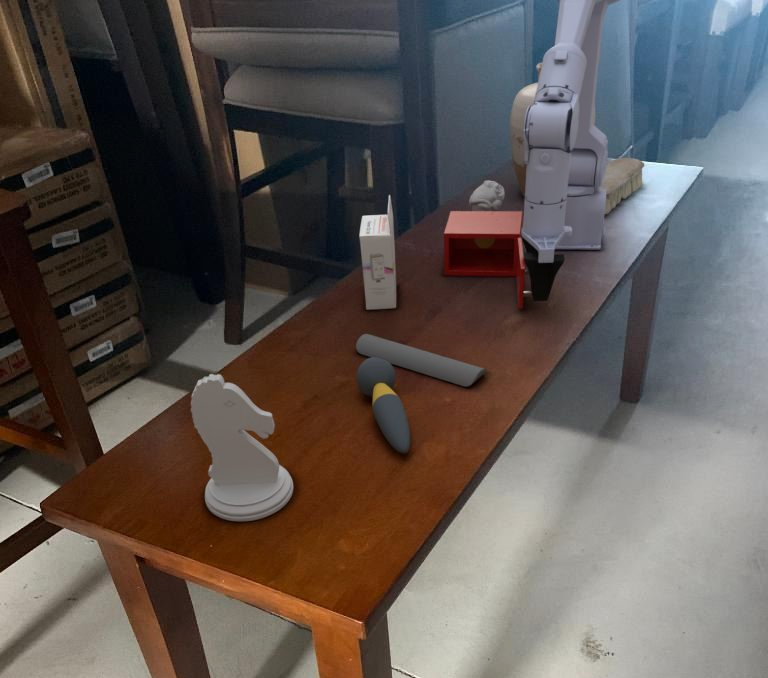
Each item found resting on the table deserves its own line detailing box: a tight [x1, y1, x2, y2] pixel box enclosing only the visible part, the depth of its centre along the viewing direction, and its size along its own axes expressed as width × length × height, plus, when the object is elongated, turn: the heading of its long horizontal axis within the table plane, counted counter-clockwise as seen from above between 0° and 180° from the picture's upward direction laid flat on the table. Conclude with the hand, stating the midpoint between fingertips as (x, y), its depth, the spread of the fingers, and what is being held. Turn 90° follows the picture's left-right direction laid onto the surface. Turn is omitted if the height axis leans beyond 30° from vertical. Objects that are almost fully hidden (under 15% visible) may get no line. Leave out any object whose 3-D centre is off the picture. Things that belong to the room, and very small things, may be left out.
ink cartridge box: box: [358, 194, 397, 311], centre depth 118 cm, size 9×5×15 cm, turn 179°
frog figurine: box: [468, 179, 505, 211], centre depth 143 cm, size 6×7×7 cm
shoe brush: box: [599, 157, 645, 215], centre depth 148 cm, size 24×8×5 cm, turn 147°
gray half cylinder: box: [355, 333, 487, 387], centre depth 105 cm, size 4×20×2 cm, turn 54°
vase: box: [509, 62, 596, 198], centre depth 147 cm, size 16×16×23 cm
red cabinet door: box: [515, 238, 532, 309], centre depth 118 cm, size 12×4×6 cm, turn 175°
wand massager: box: [356, 357, 411, 454], centre depth 95 cm, size 20×5×5 cm, turn 17°
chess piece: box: [190, 373, 294, 522], centre depth 81 cm, size 10×10×15 cm
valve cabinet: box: [443, 210, 523, 277], centre depth 128 cm, size 12×10×7 cm
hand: (538, 290), depth 116 cm, fingers open, 6 cm apart
